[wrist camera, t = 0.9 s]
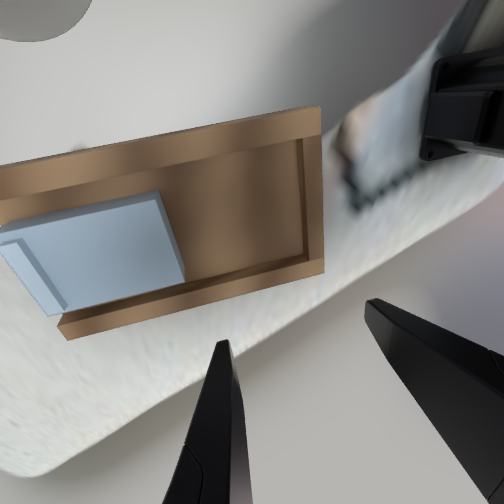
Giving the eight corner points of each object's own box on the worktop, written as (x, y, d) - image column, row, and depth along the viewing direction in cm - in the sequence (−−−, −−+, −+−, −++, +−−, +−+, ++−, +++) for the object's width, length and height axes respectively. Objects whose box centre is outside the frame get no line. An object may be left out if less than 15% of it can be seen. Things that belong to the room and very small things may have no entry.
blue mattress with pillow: (158, 189, 17) (154, 202, 15) (184, 266, 20) (184, 287, 18) (7, 221, 16) (-20, 241, 14) (59, 297, 19) (43, 323, 17)
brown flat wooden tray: (307, 105, 17) (320, 106, 16) (314, 260, 24) (324, 273, 22) (-27, 170, 15) (-53, 179, 14) (76, 321, 22) (67, 340, 20)
